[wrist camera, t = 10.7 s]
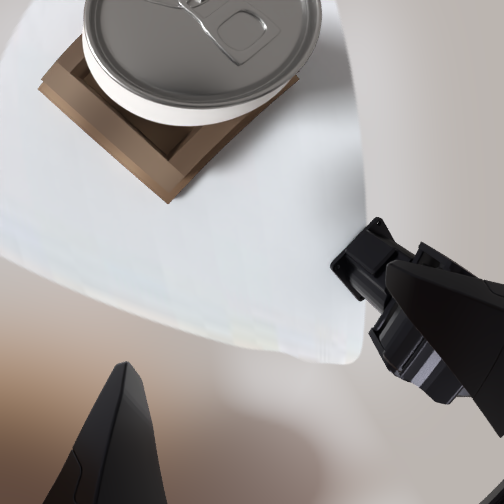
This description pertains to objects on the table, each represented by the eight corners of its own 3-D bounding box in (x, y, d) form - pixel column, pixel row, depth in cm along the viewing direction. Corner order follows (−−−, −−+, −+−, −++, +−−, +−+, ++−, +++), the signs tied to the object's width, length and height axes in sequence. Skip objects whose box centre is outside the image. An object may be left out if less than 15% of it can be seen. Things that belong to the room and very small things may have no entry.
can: (176, 8, 13) (216, -114, 3) (249, 71, 16) (377, 26, 6) (101, 82, 14) (15, 31, 3) (177, 144, 17) (211, 187, 7)
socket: (293, 80, 18) (322, 75, 15) (167, 200, 19) (170, 219, 16) (178, -33, 12) (185, -60, 8) (43, 90, 13) (18, 85, 10)
